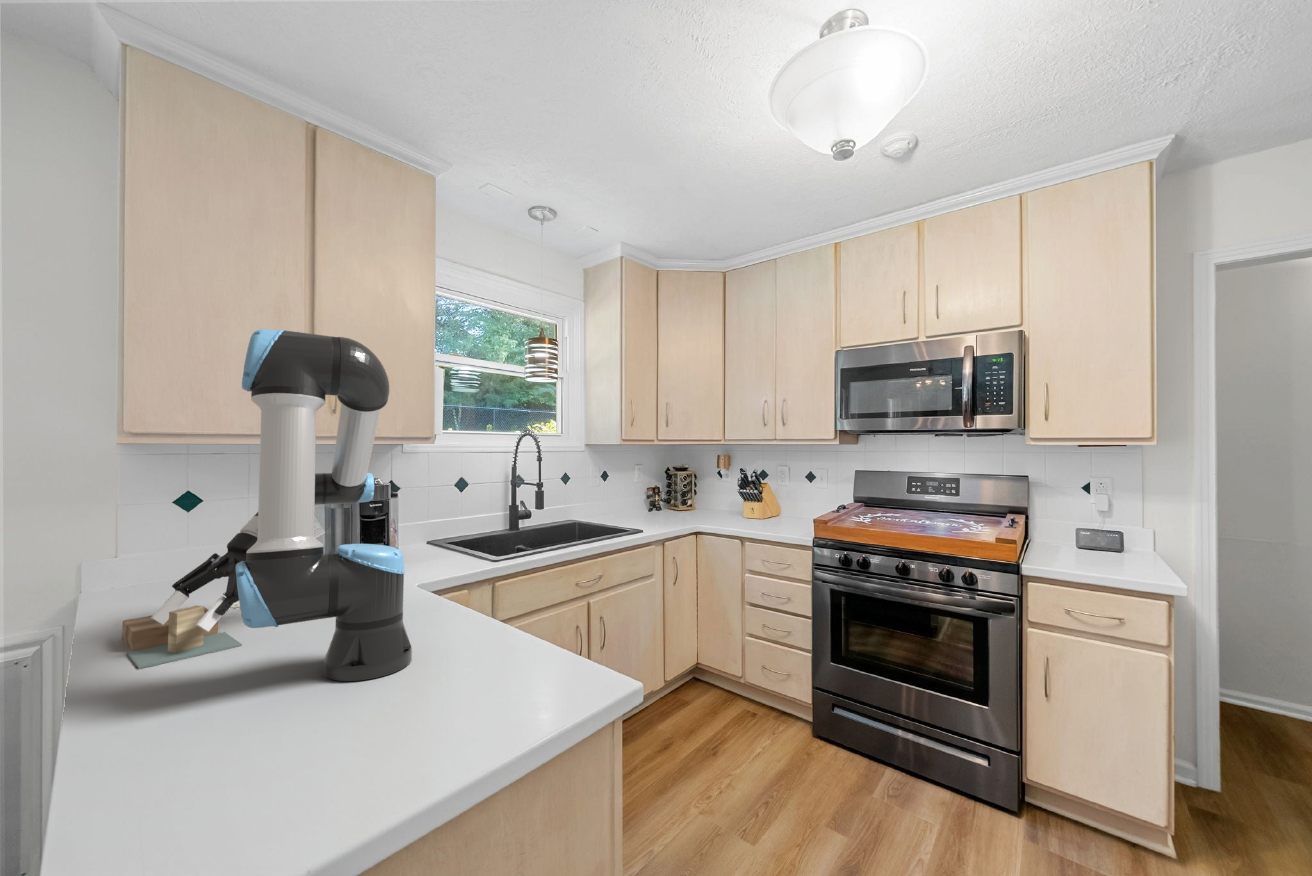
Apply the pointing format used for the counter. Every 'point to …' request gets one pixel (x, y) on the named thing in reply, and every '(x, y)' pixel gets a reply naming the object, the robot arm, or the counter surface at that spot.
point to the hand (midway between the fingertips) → (179, 624)
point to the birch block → (185, 629)
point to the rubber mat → (162, 655)
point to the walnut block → (150, 632)
